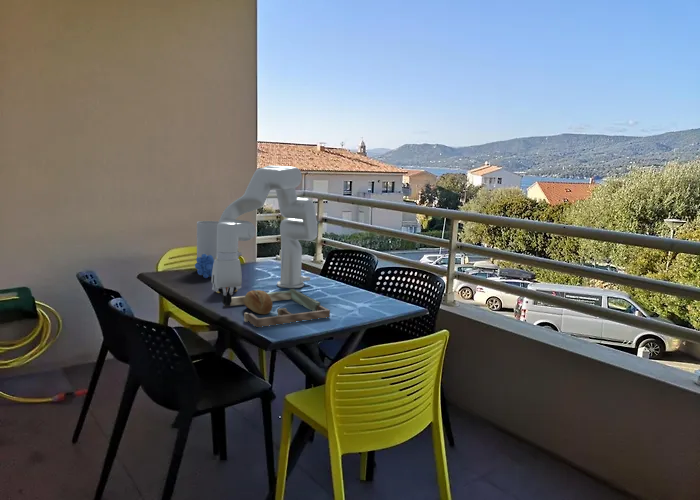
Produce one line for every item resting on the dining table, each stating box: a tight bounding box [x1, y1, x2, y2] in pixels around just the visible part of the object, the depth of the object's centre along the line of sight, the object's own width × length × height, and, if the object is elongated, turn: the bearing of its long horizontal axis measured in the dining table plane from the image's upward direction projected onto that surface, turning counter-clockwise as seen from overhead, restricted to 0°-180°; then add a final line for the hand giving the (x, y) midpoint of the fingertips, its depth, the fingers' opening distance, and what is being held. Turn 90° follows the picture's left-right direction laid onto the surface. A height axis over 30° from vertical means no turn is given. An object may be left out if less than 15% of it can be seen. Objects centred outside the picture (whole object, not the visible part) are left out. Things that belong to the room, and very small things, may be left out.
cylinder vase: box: [196, 220, 219, 271], centre depth 252 cm, size 12×12×25 cm
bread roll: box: [243, 289, 274, 315], centre depth 188 cm, size 10×15×8 cm, turn 35°
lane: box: [223, 288, 321, 323], centre depth 191 cm, size 30×23×4 cm
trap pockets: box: [248, 304, 331, 328], centre depth 179 cm, size 29×8×3 cm, turn 123°
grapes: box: [194, 254, 214, 279], centre depth 236 cm, size 12×7×12 cm, turn 132°
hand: (226, 305), depth 182 cm, fingers closed
